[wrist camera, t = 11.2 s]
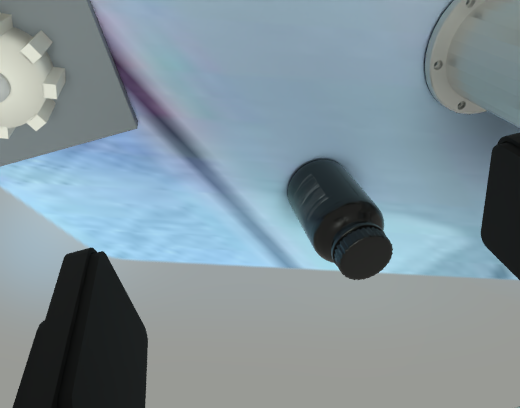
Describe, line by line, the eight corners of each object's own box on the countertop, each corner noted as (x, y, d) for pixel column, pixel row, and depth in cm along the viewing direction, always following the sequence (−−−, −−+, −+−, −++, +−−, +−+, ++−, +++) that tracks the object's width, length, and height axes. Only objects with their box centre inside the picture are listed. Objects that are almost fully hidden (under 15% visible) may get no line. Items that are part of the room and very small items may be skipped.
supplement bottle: (297, 222, 47) (338, 301, 37) (276, 175, 43) (315, 249, 33) (354, 196, 47) (410, 268, 37) (338, 146, 43) (396, 211, 33)
